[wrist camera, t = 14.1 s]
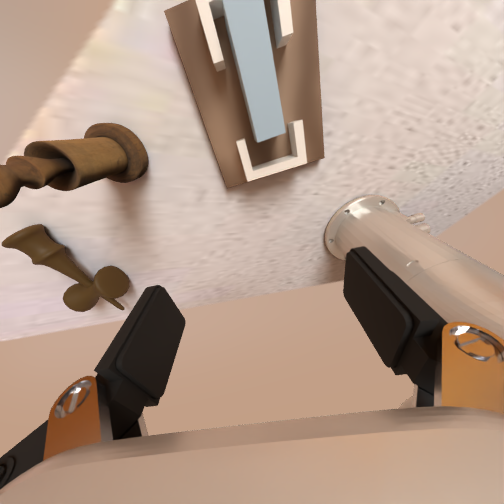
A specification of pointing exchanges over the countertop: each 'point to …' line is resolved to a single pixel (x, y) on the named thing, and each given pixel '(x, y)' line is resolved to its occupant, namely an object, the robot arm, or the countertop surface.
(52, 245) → the kendama
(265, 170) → the end caps
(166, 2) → the countertop surface
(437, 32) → the countertop surface
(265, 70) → the light blue rectangular block
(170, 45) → the countertop surface
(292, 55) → the board
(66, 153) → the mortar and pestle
